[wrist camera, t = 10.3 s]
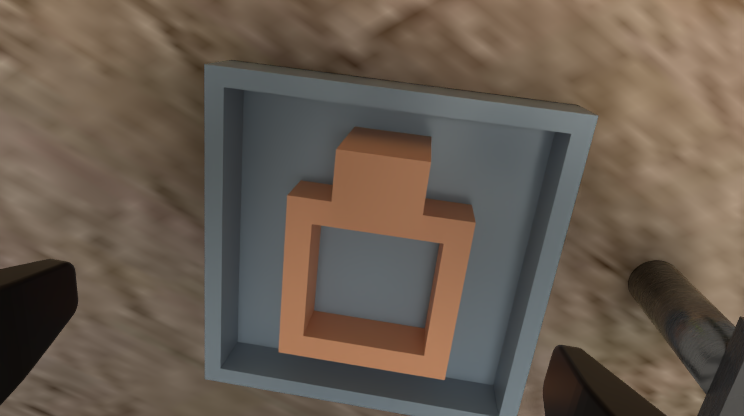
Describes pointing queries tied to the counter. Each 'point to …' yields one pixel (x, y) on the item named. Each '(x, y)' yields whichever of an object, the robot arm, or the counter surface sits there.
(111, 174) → the counter surface
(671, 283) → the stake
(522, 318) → the tray
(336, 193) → the tan rectangular frame
